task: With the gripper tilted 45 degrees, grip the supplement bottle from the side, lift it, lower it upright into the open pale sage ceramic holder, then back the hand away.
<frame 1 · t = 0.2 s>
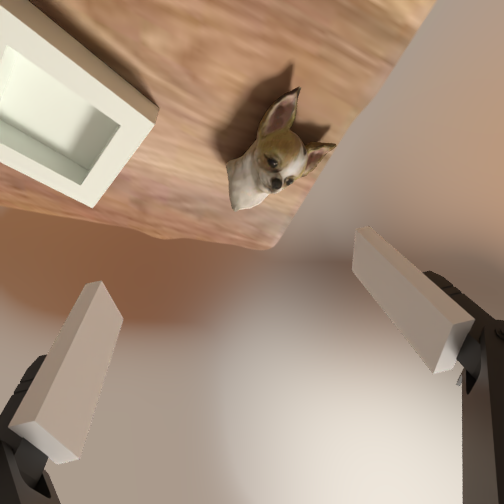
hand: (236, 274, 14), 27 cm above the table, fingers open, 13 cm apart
holder: (65, 110, 32), on the table
ceramic sculpture: (268, 147, 38), on the table
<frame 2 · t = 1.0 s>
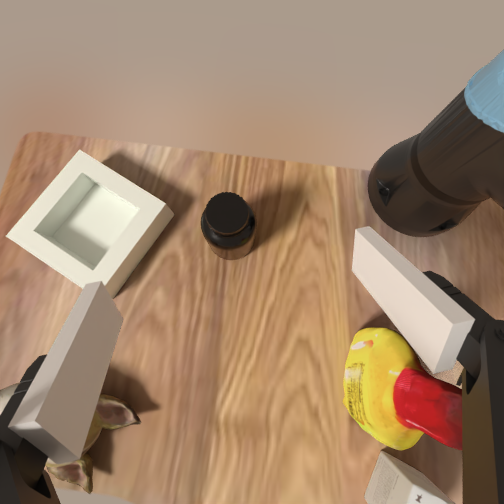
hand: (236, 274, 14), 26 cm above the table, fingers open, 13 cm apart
bottle: (360, 369, 38), on the table
supplement bottle: (232, 239, 41), on the table
holder: (104, 229, 41), on the table
ceramic sculpture: (82, 411, 37), on the table
skincare box: (392, 483, 35), on the table
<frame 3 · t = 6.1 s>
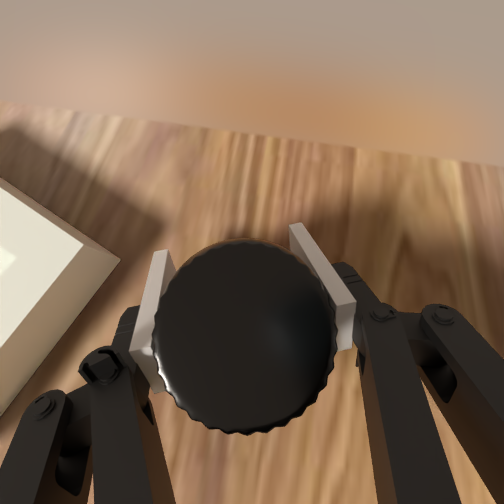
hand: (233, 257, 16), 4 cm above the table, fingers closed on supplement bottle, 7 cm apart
supplement bottle: (246, 316, 19), on the table, touching gripper
when the fingers open (6 cm above the table, at t = 11.2 s): supplement bottle drops 1 cm, resting on holder.
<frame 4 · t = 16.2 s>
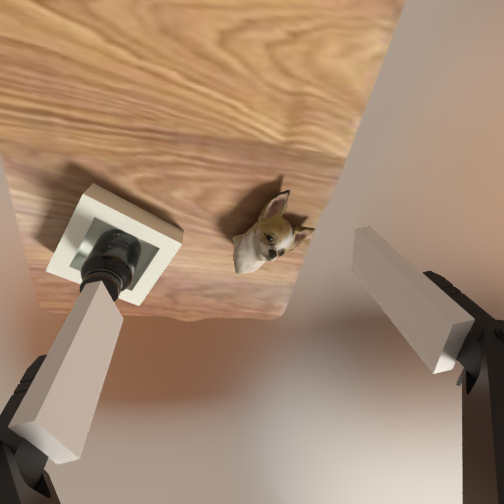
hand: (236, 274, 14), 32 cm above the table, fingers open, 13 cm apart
supplement bottle: (121, 244, 46), point 1 cm above the table, touching holder
holder: (121, 242, 47), on the table
ceramic sculpture: (264, 228, 50), on the table
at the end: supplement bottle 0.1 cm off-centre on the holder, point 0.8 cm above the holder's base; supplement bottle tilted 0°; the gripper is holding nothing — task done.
